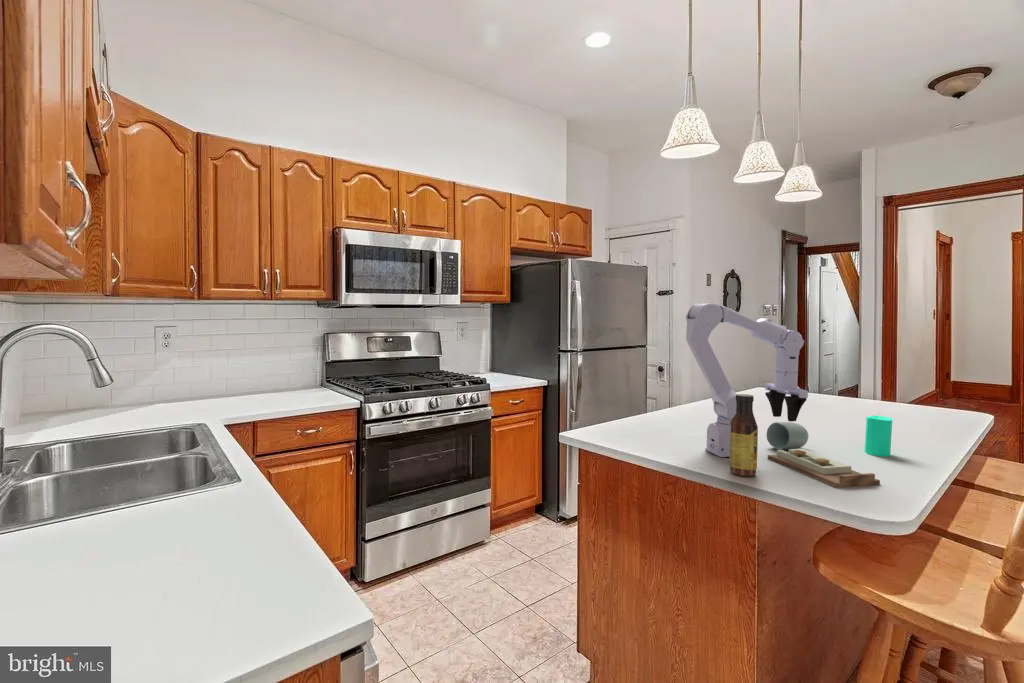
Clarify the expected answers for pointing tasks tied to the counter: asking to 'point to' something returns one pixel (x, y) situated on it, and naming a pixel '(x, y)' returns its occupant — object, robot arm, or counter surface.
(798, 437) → the cup
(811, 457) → the panel
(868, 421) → the candle
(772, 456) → the board
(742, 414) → the sauce bottle
